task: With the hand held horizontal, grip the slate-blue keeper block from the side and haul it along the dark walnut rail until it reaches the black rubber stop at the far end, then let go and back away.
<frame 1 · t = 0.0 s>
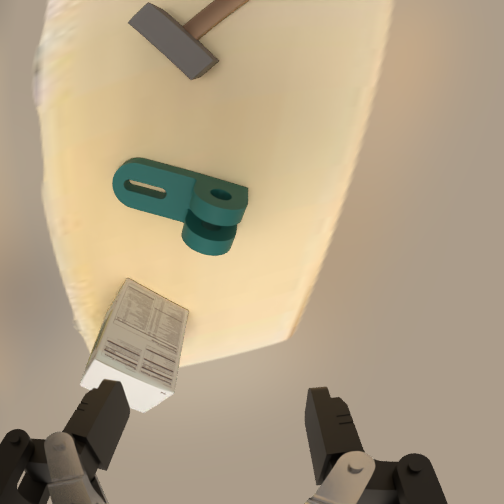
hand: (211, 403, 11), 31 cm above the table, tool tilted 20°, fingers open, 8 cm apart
bracket: (178, 189, 40), on the table
stop block: (181, 42, 28), on the table
supplement box: (144, 311, 54), on the table
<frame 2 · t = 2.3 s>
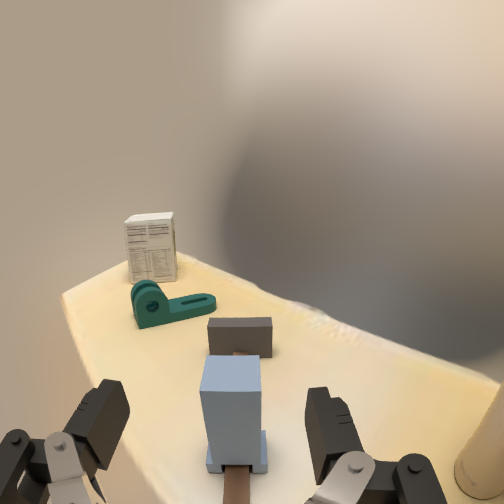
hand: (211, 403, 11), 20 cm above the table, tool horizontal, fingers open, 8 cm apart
bracket: (177, 315, 62), on the table
keeper: (235, 421, 25), point 7 cm above the table, slide at 0.0 cm
stop block: (241, 353, 48), on the table
rail: (238, 423, 32), on the table
supplement box: (155, 275, 85), on the table
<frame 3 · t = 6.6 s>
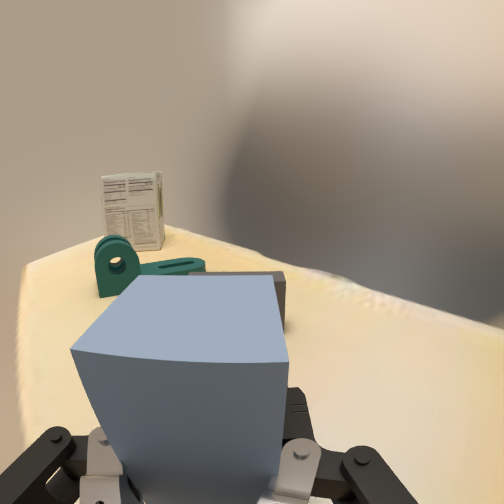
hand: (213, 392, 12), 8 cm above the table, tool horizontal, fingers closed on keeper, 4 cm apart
bracket: (153, 283, 46), on the table
keeper: (210, 449, 10), point 7 cm above the table, slide at 0.0 cm, touching gripper
stop block: (236, 327, 32), on the table
supplement box: (137, 246, 69), on the table
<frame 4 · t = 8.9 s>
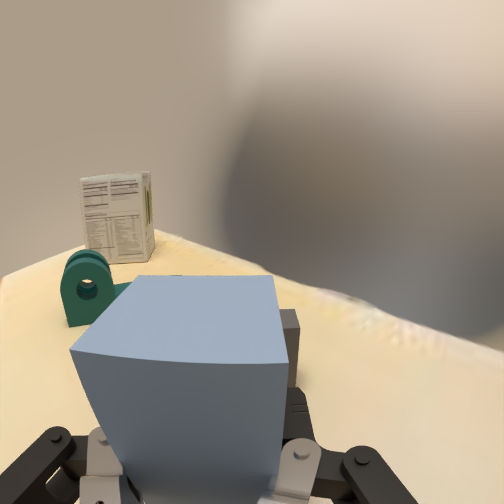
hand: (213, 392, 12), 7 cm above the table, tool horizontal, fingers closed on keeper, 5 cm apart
bracket: (133, 307, 37), on the table
keeper: (209, 450, 10), point 7 cm above the table, slide at 9.1 cm, touching gripper
stop block: (232, 380, 23), on the table
supplement box: (123, 256, 60), on the table
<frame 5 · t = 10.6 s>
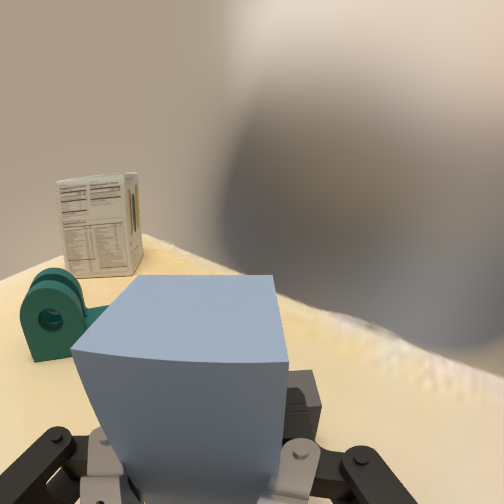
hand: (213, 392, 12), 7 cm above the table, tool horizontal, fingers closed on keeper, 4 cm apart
bracket: (109, 337, 30), on the table
keeper: (210, 449, 10), point 7 cm above the table, slide at 17.0 cm, touching gripper
stop block: (226, 453, 16), on the table
supplement box: (108, 267, 53), on the table
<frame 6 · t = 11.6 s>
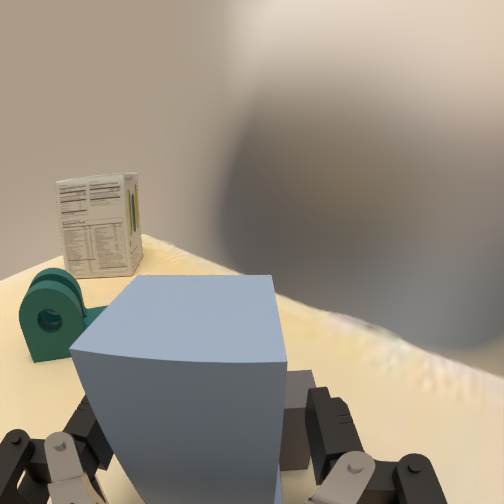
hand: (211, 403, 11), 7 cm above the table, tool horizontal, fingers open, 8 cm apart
bracket: (108, 337, 30), on the table
keeper: (209, 449, 10), point 7 cm above the table, slide at 17.0 cm
stop block: (226, 453, 16), on the table
supplement box: (107, 267, 53), on the table
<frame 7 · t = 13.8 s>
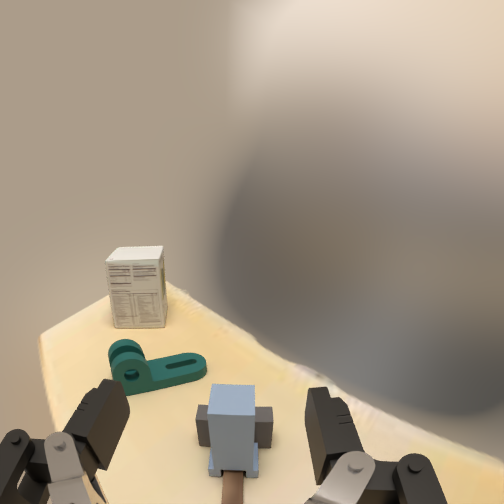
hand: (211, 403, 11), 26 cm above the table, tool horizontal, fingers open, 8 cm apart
bracket: (161, 378, 50), on the table
keeper: (233, 435, 31), point 7 cm above the table, slide at 17.0 cm
stop block: (235, 440, 36), on the table
supplement box: (142, 317, 74), on the table
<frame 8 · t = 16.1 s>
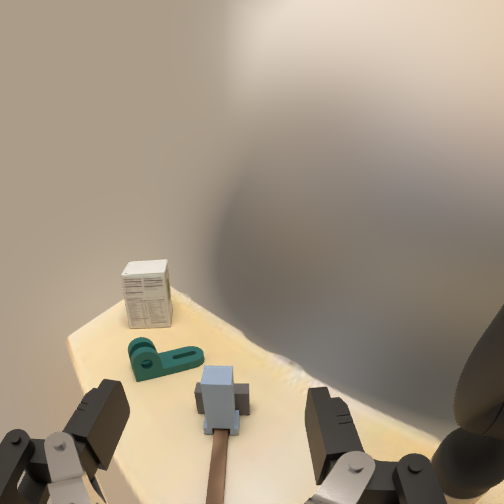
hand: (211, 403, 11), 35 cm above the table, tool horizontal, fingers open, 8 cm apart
bracket: (169, 367, 67), on the table
keeper: (219, 402, 47), point 7 cm above the table, slide at 17.0 cm
stop block: (224, 409, 53), on the table
rail: (217, 473, 37), on the table
supplement box: (152, 319, 90), on the table
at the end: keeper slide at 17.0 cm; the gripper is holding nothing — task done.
